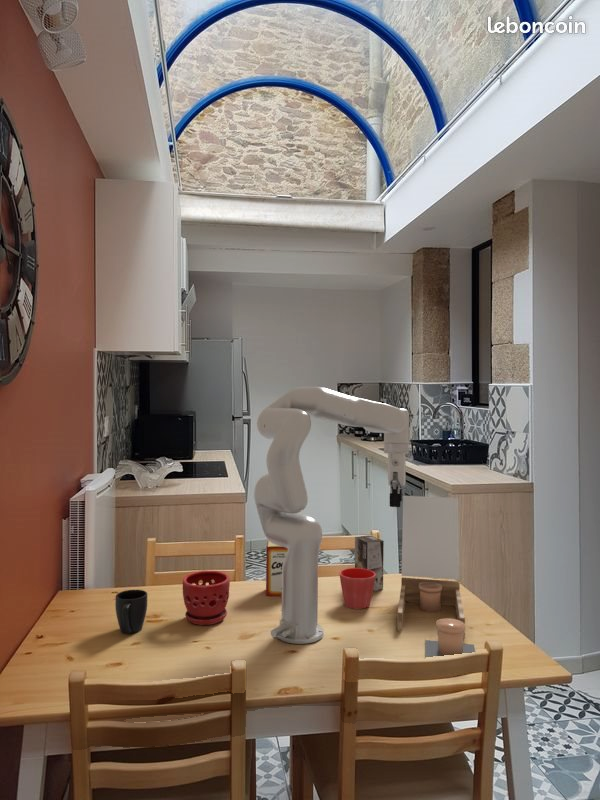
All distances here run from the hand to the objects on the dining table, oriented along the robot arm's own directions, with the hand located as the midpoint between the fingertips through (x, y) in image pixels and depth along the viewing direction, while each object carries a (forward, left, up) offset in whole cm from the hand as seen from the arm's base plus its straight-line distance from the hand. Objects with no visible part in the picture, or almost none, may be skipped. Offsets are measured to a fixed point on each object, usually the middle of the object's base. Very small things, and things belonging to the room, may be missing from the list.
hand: (395, 503), depth 178 cm
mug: (-65, +44, -31) cm, 84 cm away
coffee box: (+8, +14, -31) cm, 35 cm away
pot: (+2, -11, -30) cm, 32 cm away
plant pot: (-46, +35, -31) cm, 65 cm away
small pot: (-24, -28, -30) cm, 47 cm away
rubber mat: (-24, -28, -30) cm, 48 cm away
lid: (+11, -7, -11) cm, 17 cm away
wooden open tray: (-5, -14, -30) cm, 34 cm away
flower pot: (-9, +8, -31) cm, 33 cm away
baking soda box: (-15, +33, -31) cm, 47 cm away
